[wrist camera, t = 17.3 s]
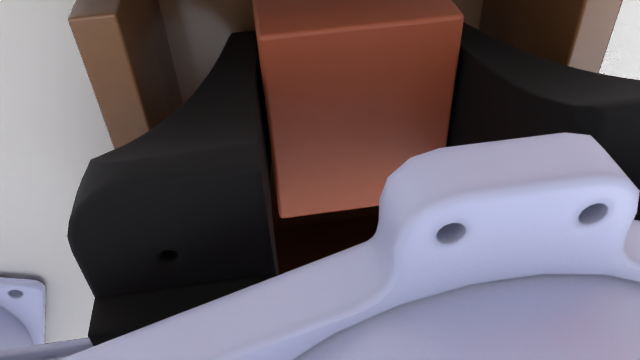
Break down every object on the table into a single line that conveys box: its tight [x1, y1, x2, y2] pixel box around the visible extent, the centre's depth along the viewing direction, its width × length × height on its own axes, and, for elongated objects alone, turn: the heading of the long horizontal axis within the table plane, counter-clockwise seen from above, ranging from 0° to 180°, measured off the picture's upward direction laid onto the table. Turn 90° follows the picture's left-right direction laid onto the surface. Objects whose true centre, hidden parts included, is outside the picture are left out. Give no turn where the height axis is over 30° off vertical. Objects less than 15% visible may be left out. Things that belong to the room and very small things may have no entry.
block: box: [252, 0, 464, 218], centre depth 13 cm, size 4×5×4 cm
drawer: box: [68, 0, 623, 275], centre depth 13 cm, size 18×11×6 cm, turn 2°
